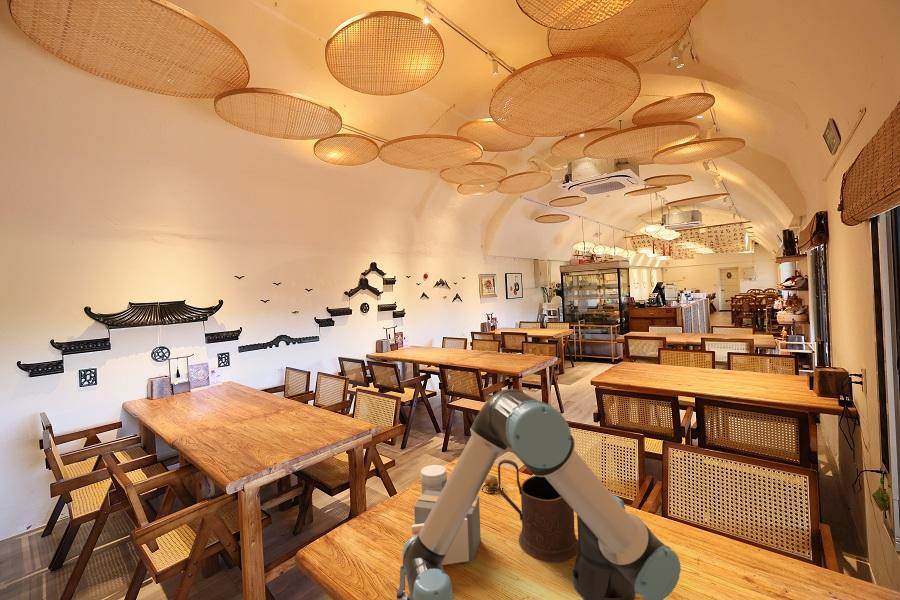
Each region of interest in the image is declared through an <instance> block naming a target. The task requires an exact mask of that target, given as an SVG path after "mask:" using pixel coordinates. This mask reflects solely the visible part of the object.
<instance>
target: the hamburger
mask: <svg viewBox="0 0 900 600" xmlns="http://www.w3.org/2000/svg"><path fill="white" fill-rule="evenodd" d="M484 483H485V486H484V487H485V490H487V489H488V490H495V491H497V490H498V489H499V486H498V484H499V482H498V477H497V476H495V475H491V474H490V475H489V474H488V475H487V477H486V479H485V481H484ZM496 489H497V490H496ZM488 490H487V491H488ZM498 493H499V491H497V492H496V494H498Z"/></svg>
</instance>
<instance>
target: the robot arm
mask: <svg viewBox="0 0 900 600" xmlns="http://www.w3.org/2000/svg"><path fill="white" fill-rule="evenodd" d="M469 430H470V435H471V436H470V437H469V439H468V441H467V443H466V445H465V447H464V448H463V450H462V452H461V454H460V456H459V457H458V458H459V459H458V460H457V462H456V463H455V466H454V467H453V469H452V471H451V473H450V475H449V477H447V482H446V484H445V486H444V488H443V490H442V491H441V493H440V495H439V497H438V499H437V501H436V503H435V505H434V506H433V508H432V510H431V512H430V514H429V516H428V518H427V520H426V521H425V523H424V525H423V527H422V529H421V531H420V533H419V535H416V536H413V537H412V536H411V538H410V539H408V540H406V542H405V544H404V546H403V548H402V565H401V566H400V567H399V568H400V569H399V588H398V590H397V592H396V600H454V593H453V588H452V587H453V586H452V580H451V577H450V576H449V574H447V573H446V572H445V569H444V565H442V561H443V560H444V557H445V555H446V553H447V551H448V550H449V548H450V546H451V544H452V542H453V540H454V538H455V536H456V534H457V532H458V530H459V529H460V527H461V525H462V523H463V521H464V519H465V517H466V515H467V513H468V511H469V510H470V508H471V506H472V504H473V502H474V500H475V498H476V496H478V495H479V492H480V491H481V487H482V485H483V484H484V483H485V482H484V481H485V479H486V477H487V476H489V473H490V471H491V469H492V468H493V465H494V464H495V462H496V460H497V458H498V456H499V454H500V453H503V452H505V451H506V452H507V449H508V448H509V449H510V451H511V452H512V453H513V454H514V455H515V456H516V457H517V458H518V459H519V460H520V462H522V464H523V466H525V467H526V468H527V470H528V471H529V472H530V474H532V475H533V476H539V477H545V478H546V479H547V480H548V481H549V483H550V484H551V485H552V486H553V487H554V488H555V490H556V491H557V492H558V493H559V494H560V495H561V496H562V498H563V499H564V500H565V501H566V502H567V503H568V505H569V506H570V507H571V508H572V509H573V510H574V514H576V519H577V520H576V521H577V522H576V523H577V524H576V525H577V526H576V527H577V540H578V550H579V551H578V555H577V556H576V557H575V561H574V564H573V568H572V583H573V584H572V585H573V588H574V589H575V590H576V592H577V593H578V595H580V596H581V598H583V599H584V600H585V599H586V600H635V597H636V594H637V595H640V597H642V598H643V599H644V600H664V599H666V598H667V597H668V596H670V594H671V593H672V592H673V591H674V589H675V588H676V586H677V585H678V582H679V579H680V575H681V571H682V570H681V561H680V558H679V555H678V554H677V553H676V552H675V551H673V550H672V548H671V547H670V546H668V545H666V544H665V543H663V542H662V540H660V539H659V538H658V537H657V536H656V535H655V534H654V533H653V532H652V531H651V529H650V528H649V526H648V525H646V523H645V522H644V521H643V520H642V519H641V518H640V517H639V516H638V515H636V514H634V513H631V512H627V511H626V506H625V503H624V501H623V500H622V499H621V498H620V497H618V496H617V495H614V494H612V493H611V492H610V491H609V489H608V488H607V487H606V486H605V485H604V484H603V482H602V481H601V480H600V479H599V477H598V476H597V475H596V474H595V472H594V471H593V470H592V469H591V468H590V466H589V465H588V464H587V463H586V462H585V460H583V458H582V457H581V456H580V455H579V454H578V452H577V451H576V450H575V448H576V447H575V445H576V444H575V443H576V442H575V438H574V436H573V435H572V433H571V428H570V425H569V424H568V421H567V420H566V419H565V416H563V415H562V413H560V412H559V411H558V409H556V408H554V407H553V406H552V405H550V404H548V403H546V402H543V401H540V400H538V399H537V398H535V397H532V396H531V395H528V394H527V393H525V392H523V391H521V390H519V389H512V388H507V389H503V390H500V391H497V392H496V393H494V394H493V395H492V396H490V398H488V399H487V401H486V402H485V403H484V405H483V406H482V407H481V409H480V410H479V412H478V413H477V415H476V417H475V419H474V421H473V423H472V425H471V426H470V429H469ZM406 582H407V586H408V592H409V593H408V594H407V592H406Z"/></svg>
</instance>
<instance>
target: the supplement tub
mask: <svg viewBox="0 0 900 600" xmlns="http://www.w3.org/2000/svg"><path fill="white" fill-rule="evenodd" d="M447 476H448V473H447V469H446V467H445V466H443V465H440V464H430V465H427V466H424V467H423V468H421V470H420V488H421V494H422V495H423V493H424V492H425V490H430V491H439V492H441V491H442V490H443V488H444V486H445V484H446V482H447V480H448V477H447Z"/></svg>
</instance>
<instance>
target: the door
mask: <svg viewBox="0 0 900 600" xmlns="http://www.w3.org/2000/svg"><path fill="white" fill-rule="evenodd" d="M423 525H424V523H423V524H415V523H414V524H412V525H411V538H412V537H413V536H416V535H419V533H420V531H421V529H422V527H423ZM465 562H470V561H469V546H468V520H467V518H465V519H464V521H463V523H462V525H461V527H460V529H459V530H458V532H457V534H456V536H455V538H454V540H453V542H452V544H451V546H450V548H449V550H448V551H447V553H446V555H445V557H444V560H443V561H442V566H445V565H452V564H458V563H465Z"/></svg>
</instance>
